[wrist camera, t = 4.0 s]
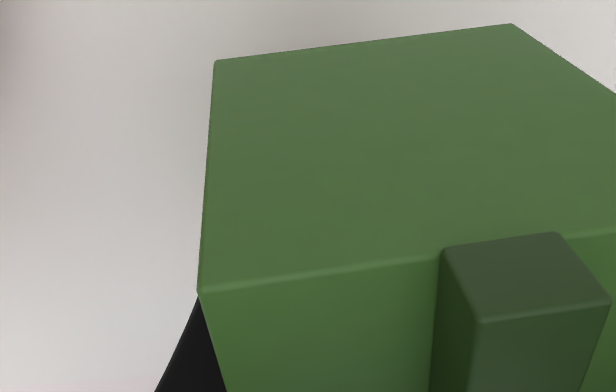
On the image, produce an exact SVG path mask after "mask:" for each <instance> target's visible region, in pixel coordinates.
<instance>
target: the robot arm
mask: <svg viewBox="0 0 616 392" xmlns="http://www.w3.org/2000/svg"><path fill="white" fill-rule="evenodd" d="M154 392H227V390H226V387H225V384H224V380H223V377H222V374H221V370H220V367H219V364H218V360H217V357H216V354H215V350H214V347H213V343H212V340H211V337H210V333H209V330H208V327H207V323H206V320H205V317H204V313H203V310H202V307H201V303H200V300H199V296H198V297H197V300H196V303H195V305H194V308H193V310H192V312H191V315H190V317H189V320H188V322H187V325H186V327H185V329H184V331H183V333H182V336H181V338H180V340H179V342H178V344H177V347H176V349H175V351H174V353H173V355H172V358H171V360H170V362H169V364H168V366H167V368H166V370H165V372H164V374H163V376H162V378H161V380H160V382H159V384H158V386H157V387H156V389H155V391H154Z"/></svg>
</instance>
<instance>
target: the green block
mask: <svg viewBox="0 0 616 392" xmlns="http://www.w3.org/2000/svg"><path fill="white" fill-rule="evenodd" d="M197 293H198V296H199V300H200V303H201V307H202V310H203V313H204V317H205V320H206V323H207V327H208V330H209V333H210V337H211V340H212V343H213V347H214V350H215V354H216V357H217V360H218V364H219V367H220V370H221V374H222V377H223V380H224V384H225V387H226V390H227V392H616V94H615V93H614V92H612V91H611V90H610V89H608V88H607V87H605V86H604V85H602V84H601V83H599V82H598V81H596V80H595V79H593V78H592V77H590V76H589V75H587V74H586V73H584V72H583V71H581V70H580V69H579V68H577V67H576V66H574V65H573V64H571V63H570V62H568V61H567V60H565V59H564V58H562V57H561V56H559V55H558V54H556V53H555V52H553V51H552V50H551V49H549V48H548V47H546V46H545V45H543V44H542V43H540V42H539V41H537V40H536V39H534V38H533V37H531V36H530V35H528V34H527V33H525V32H524V31H522V30H521V29H520V28H518V27H517V26H515V25H514V24H511V23H509V24H501V25H493V26H485V27H477V28H469V29H461V30H453V31H445V32H437V33H429V34H421V35H413V36H405V37H397V38H389V39H381V40H373V41H366V42H358V43H350V44H342V45H334V46H326V47H318V48H310V49H302V50H294V51H286V52H278V53H270V54H262V55H254V56H246V57H238V58H230V59H222V60H216V61H215V62H214V69H213V82H212V95H211V108H210V121H209V134H208V147H207V160H206V174H205V187H204V200H203V213H202V226H201V239H200V252H199V265H198V278H197Z"/></svg>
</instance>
